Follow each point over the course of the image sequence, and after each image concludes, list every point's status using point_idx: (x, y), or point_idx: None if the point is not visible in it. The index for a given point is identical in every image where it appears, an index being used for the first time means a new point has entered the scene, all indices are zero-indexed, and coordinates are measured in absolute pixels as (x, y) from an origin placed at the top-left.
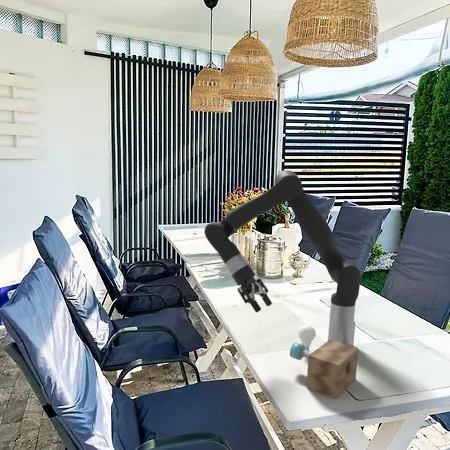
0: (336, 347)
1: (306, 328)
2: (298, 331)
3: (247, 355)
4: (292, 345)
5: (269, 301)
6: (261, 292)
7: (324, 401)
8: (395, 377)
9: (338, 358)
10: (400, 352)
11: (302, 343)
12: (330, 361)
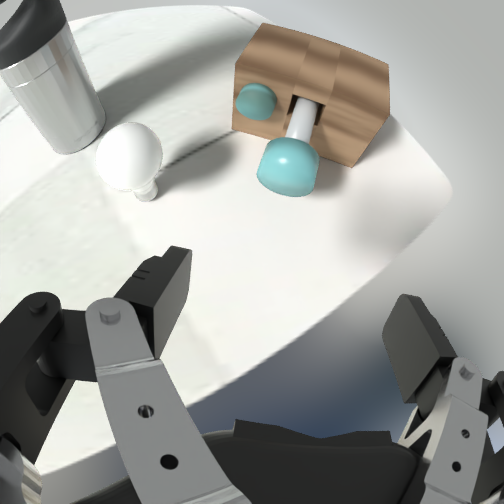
0: (290, 53)
1: (140, 138)
2: (129, 181)
3: (240, 375)
4: (306, 172)
5: (181, 266)
6: (67, 389)
7: (379, 135)
8: (214, 38)
9: (355, 58)
10: (103, 44)
11: (148, 185)
12: (383, 74)
